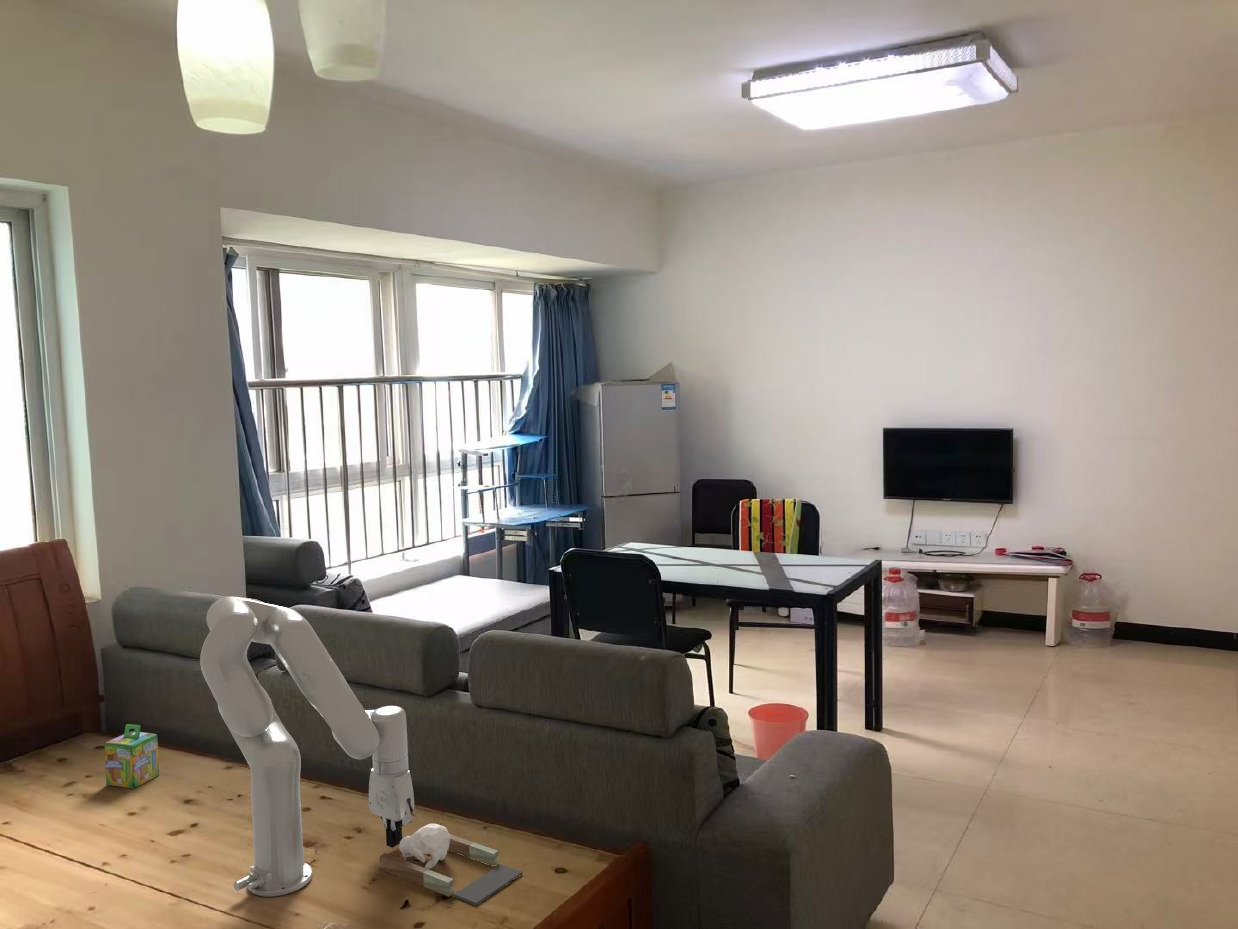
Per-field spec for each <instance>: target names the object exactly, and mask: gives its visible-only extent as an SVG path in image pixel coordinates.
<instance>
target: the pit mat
mask: <svg viewBox="0 0 1238 929" xmlns="http://www.w3.org/2000/svg"><path fill="white" fill-rule="evenodd" d="M522 873H523V871H521V870H519V869H516V868H513V867H510V866H507V865H504V864H502V863H499V865H497V866H496V867H493V868H492V869H490V870H489V871H488V872H486V873H484V874H482V876H480V877H478V878H477V879H475V880H473V881H472V882H470V883H469V884H467V885H466V886H464V887H463V888H461V889H459V890H458V891H457V892H454V894H453V897H454V898H455V899H458V900H461V901H463V902H465V903H468V904H471V905H473V906H476V907H477V906H478V905H480V904H481V903H483V902H484V901H486V900H487V899H489V898H491V897H492V896H493V895H495V894H496V893H498V892H499V891H500V889H501V890H502V889H504V888H505V887H506V886H507V885H506V884H507V883H509V882H511V881H512V880H513V879H514V878H516V877H518V876H519V875H521V874H522ZM521 876H522V875H521ZM518 878H519V877H518ZM512 882H513V881H512ZM512 882H511V883H512ZM509 884H510V883H509ZM505 885H506V886H505ZM504 886H505V887H504ZM497 891H498V892H497Z"/></svg>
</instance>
